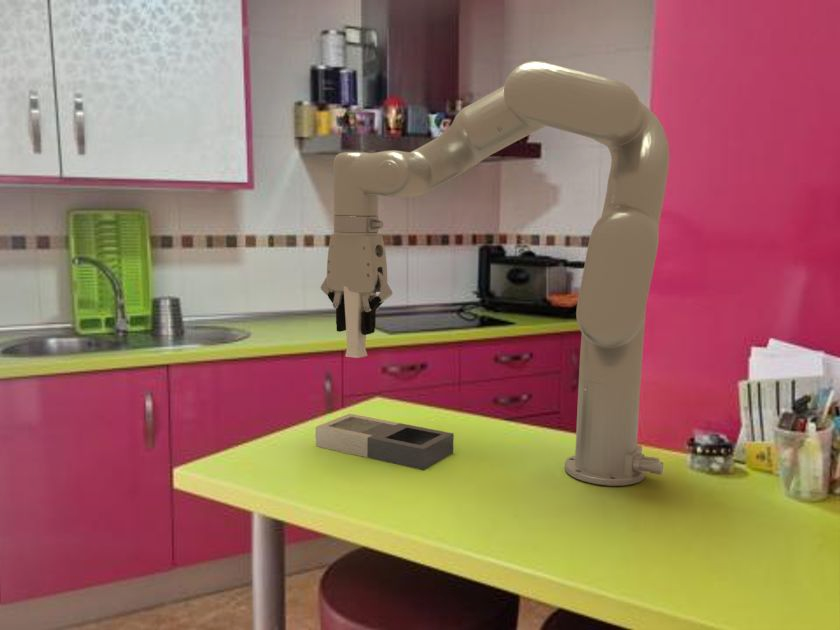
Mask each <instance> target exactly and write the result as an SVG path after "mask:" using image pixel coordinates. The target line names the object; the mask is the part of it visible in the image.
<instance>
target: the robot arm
mask: <svg viewBox="0 0 840 630" xmlns="http://www.w3.org/2000/svg"><path fill="white" fill-rule="evenodd" d="M544 127H549V128H553V129H557V130H561V131H564V132H568V133H571V134H576V135H579V136H582V137H585V138H589V139H593V140H594V141H596V142H598V143H600V144H602V145H604V146H606V147H607V148H608V151H609V153H610V159H611V163H610V170H609V173H608V174H609V175H608V180H607V184H606V185H607V187H606V193H605V199H604V203H603V204H604V205H603V209H602V213H601V215H600V217H599V218H598V220H597V221H596V222H595V224H594V226H593V227H592V230H591V233H590V236H589V240H588V244H587V250H586V254H585V255H586V256H585V260H584V266H583V272H582V277H581V283H580V288H579V294H578V297H577V298H578V299H577V305H576V310H575V311H576V312H575V315H576V322H577V325H578V328H579V331H580V333H581V339H580V354H579V367H578V371H579V372H578V373H579V374H578V389H577V390H578V391H577V392H578V394H577V411H576V413H577V415H576V431H575V432H576V433H575V435H576V436H575V450H574V451H575V453H574V455H572V456H570V457H568V458H567V459H566V460H565V461H564V470H565V472H566V473H567V474H568V475H569V476H571V477H572V478H574V479H577V480H579V481H582V482H583V483H584V482H585V483H589V484H593V485H599V486H612V487H613V486H614V487H618V486H619V487H621V486H629V485H634V484H637V483H641V482H642V481H643V480H645V478H646V472H647V473H650V474H655V475H660V476H661V475H663V472H664V462H661V461H660V458H659V457H653V456H647V455H646V456H645V454H644V453H643V446H642V445H638V434H639V433H638V432H639V431H638V430H639V413H640V400H641V399H640V396H641V381H642V368H643V367H642V366H643V355H644V353H643V350H644V336H645V324H646V313H647V311H646V310H647V309H646V307H647V302H648V298H649V292H650V287H651V283H652V278H653V272H654V269H655V263H656V259H657V253H658V246H659V243H660V242H659V239H660V238H659V237H660V236H659V229H660V228H659V227H660V220H661V215H662V209H663V204H664V199H665V193H666V192H665V191H666V186H667V179H668V173H669V167H670V166H669V165H670V147H669V141H668V138H667V134H666V132H665V128H664V127H663V125H662V123H661V122H660V120H659V118H658V117H657V115H656V114H655V113H653V111H652V110H651V109H649V108H648V107H647V106H646V105H645V104H644V103H643V102H642V101H640V100H639V97H638V95H637V93H636V92H635V91H634V90H633V89H632V88H631V86H629V85H627V84H626V83H624V82H622V81H620V80H617V79H614V78H610V77H607V76H601V75H598V74H594V73H589V72H585V71H581V70H577V69H572V68H568V67H566V66H560V65H557V64H553V63H549V62H545V61H540V60H531V61H526V62H524V63H522V64H520V65H518V66H516V67H515V68H514V69H513V70H512V71H510V73H509V75H508V76H507V77H506V80H505V82H504V85H503V86H501V87H499V88H497V89H495V90H494V91H492V92H491V93H488V94H487V95H484V97H481V98H480V99H478V100H476V101H475V102H472V103H471V104H469V105H466V106H465V107H463V108H462V109H461V110H459V111H458V112H457V114H456V115H455V117H454V119H453V121H452V123H451V124H450V126H449V127H448V128H447V129H446V130H445V131H444V132H443V133H441V134H440V135H439V136H437V137H435V138H434V139H432V140H430V141H429V142H427V143H425V144H424V145H422V146H420V147H417V148H416V149H414V150H412V151H409V152H408V151H402V150H396V149H395V150H383V151H378V152H365V151H364V152H362V151H346V152H345V151H344V152H339V153H337V154H336V156H335V157H334V159H333V233H331V235H330V239H329V245H328V252H327V263H326V277H325V279H324V280H323V282H322V284H321V285H320V290H321V291H322V292H323V293H324V294H325V295H326V296H327V298H328V299H329V300H330V302H331V303H332V307H333V309H335V325H336V331H337V332H339V333H341V332H346V318H345V302H344V286H346V287H347V288H348V290H349V291H351V292H356V293H359V294H361V295H362V301H363V306H364V310H365V311H363V312H362V313H361V333H362V335H366V336H367V335H371V334H374V333H375V331H376V330H375V329H376V315H377V314H376V311H378V310H379V309H380V306H381V305H383V303H384V302H385V301H386V300H388V299H389V298H390V297H391V296H392V295H393V291H392V289H391V287H390V286H389V283H388V265H387V253H386V247H385V242H384V237H383V235H382V234H379V229H380V230H381V229H383V227H384V221H383V220H379V218H380V217H379V196H383V197H389V198H414V197H418V196H421V195H424V194H426V193H428V192H430V191H432V190H433V189H435V188H437V187H438V186H441V185H443V184H445V183H447V182H449V181H451V180H453V179H454V178H456V177H457V176H460V175H461V174H462V173H464V172H466V171H467V170H469V169H470V168H472V167H474V166H476V165H478V164H479V163H481V162H482V161H484V160H485V159H486V158H488V157H490V156H491V155H494V154H495V153H497V152H499V151H501V150H503V149H505V148H506V147H509V146H510V145H512V144H514V143H516V142H517V141H520V140H522V139H525V137H526V138H527V137H528V136H529V135H531V134H533V133H536V132H537V131H539V130H541V129H543V128H544ZM377 293H378V294H377Z"/></svg>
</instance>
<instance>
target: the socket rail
mask: <svg viewBox="0 0 840 630" xmlns="http://www.w3.org/2000/svg"><path fill="white" fill-rule="evenodd" d="M454 435H455V434H454V432H447V431H443V430H437V429H434V428H433V429H432V428H426V427H421V426H416V425H413V424H412V425H411V424H405V423H400V422H396V421H390V420H384V419H381V418H374V417H370V416H363V415H359V414H354V413H347V414H344V415H342V416H340V417H337V418H335V419H332V420H330V421H327V422H324V423H322V424H319V425H316V426H315V447H318V448H323V449H327V450H331V451H337V452H340V453H343V454H344V453H345V454H350V455H354V456H358V457H363V458H366V459H367V458H368V459H371V460H376V461H380V462H385V463H390V464H395V465H399V466H404V467H407V468H412V469H417V470H421V471H425V470H426V469H428V468H430V467H432V466H434V465H436V464H437V463H439V462H440V461H442V460H443V459H445V458H447V457H449V456H451V455H453V454H454Z"/></svg>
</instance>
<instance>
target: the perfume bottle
mask: <svg viewBox="0 0 840 630" xmlns="http://www.w3.org/2000/svg"><path fill="white" fill-rule="evenodd" d="M344 302H345V318H346V330H345V332H346V346H347V347H346V351H345V356H344V357H346V358H354V359H355V358H356V359H359V358H365V357H368V352H367V349H366V341H367V335H362V333H361V313H362V312H363V311H365V310H364V306H363V301H362V295H361V294H359V293H356V292H351V291H349V290H348V288H347V287H346V286H344Z"/></svg>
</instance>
